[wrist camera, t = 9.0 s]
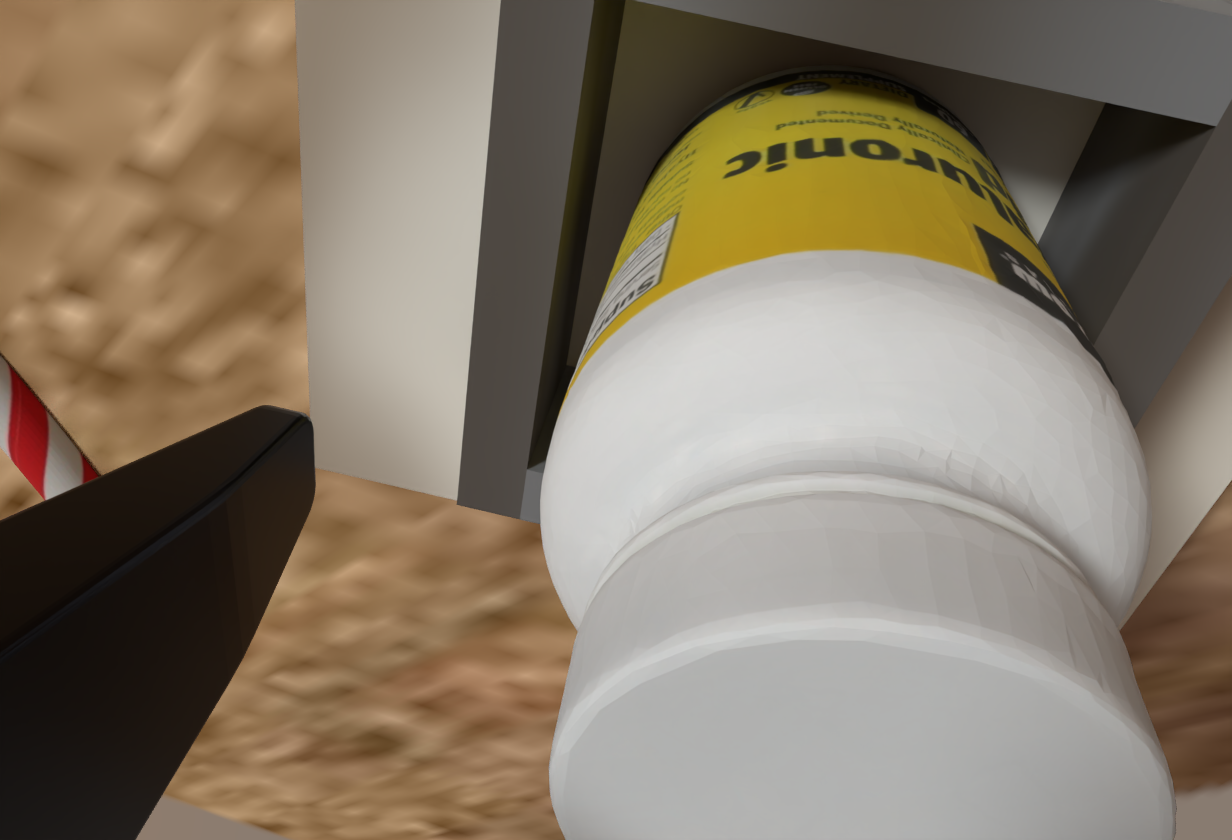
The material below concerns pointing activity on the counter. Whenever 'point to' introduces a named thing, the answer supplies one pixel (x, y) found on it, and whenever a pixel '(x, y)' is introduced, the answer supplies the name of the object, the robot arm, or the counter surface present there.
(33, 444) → the candy cane
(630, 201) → the holder board
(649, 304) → the supplement bottle
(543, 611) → the counter surface
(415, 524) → the counter surface
